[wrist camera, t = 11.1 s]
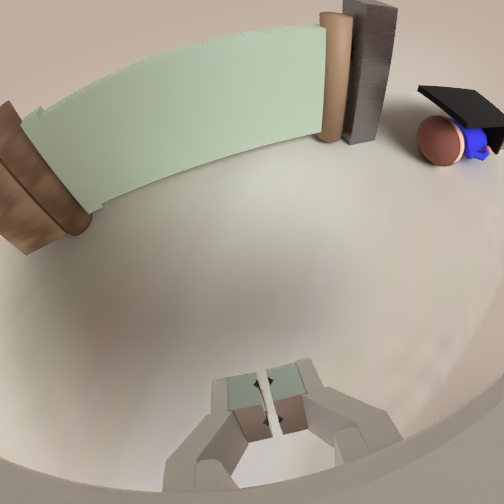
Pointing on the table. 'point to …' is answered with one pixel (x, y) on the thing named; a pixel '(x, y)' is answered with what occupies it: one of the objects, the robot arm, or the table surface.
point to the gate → (196, 107)
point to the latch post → (367, 67)
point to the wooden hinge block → (32, 192)
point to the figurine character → (460, 126)
